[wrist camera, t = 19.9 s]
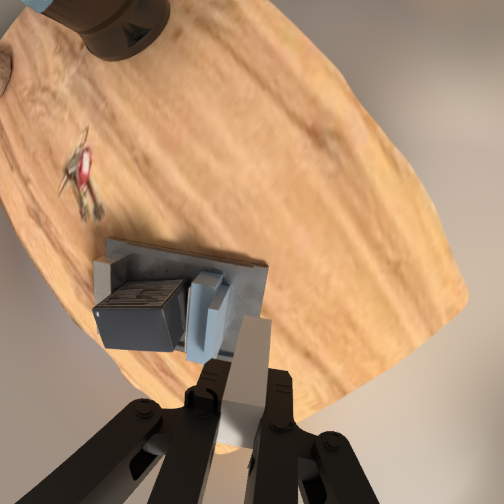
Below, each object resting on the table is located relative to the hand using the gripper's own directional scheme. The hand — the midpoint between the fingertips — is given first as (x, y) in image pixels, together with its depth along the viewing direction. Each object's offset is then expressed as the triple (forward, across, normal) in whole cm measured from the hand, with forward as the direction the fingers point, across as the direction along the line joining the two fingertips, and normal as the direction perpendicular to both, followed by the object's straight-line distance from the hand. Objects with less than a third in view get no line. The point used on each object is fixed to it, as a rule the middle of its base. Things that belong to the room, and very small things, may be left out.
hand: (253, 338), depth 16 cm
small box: (+24, -14, -12) cm, 31 cm away
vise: (+25, -13, -12) cm, 31 cm away
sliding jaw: (+24, -6, -12) cm, 28 cm away
